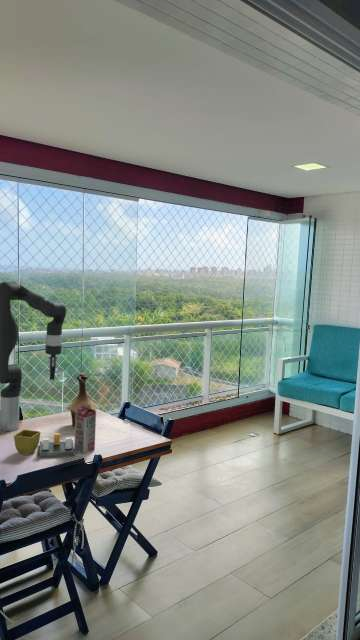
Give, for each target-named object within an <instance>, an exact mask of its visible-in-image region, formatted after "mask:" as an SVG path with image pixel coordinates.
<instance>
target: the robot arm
mask: <svg viewBox="0 0 360 640" xmlns="http://www.w3.org/2000/svg"><path fill="white" fill-rule="evenodd" d="M11 301H22V302H25V303H26V304H27V305H28V306H29V307H30V308H32V309H34V310H36V311H39V312H40V313H42V314H43V315H44V316H45V317H48V318H52V320H51V321H49V322H48V323H47V324H46V335H45V348H44V351H45V352H44V353H45V354H46V355H50V356H48V367H49V380H51V381H53V380H55V377H56V374H55V373H56V368H57V365H58V364H57V363H58V355H61V354H62V348H63V326H64V322H65V318H66V315H67V306H66V304H65V303H64V302H61V301H50V299H49V298H47V297H46V296H42V295H41V294H37V293H35V292H33V291H31V290H30V289H28V288H27V287H24V286H23V285H22V284H20V283H19V282H16V281H15V282H14V281H2V282H0V384H1V385H2V384H3V385H4V384H5V385H6V384H8V385H7V386H6V387H4V388H2V389H1V390H0V431H3V432H4V431H6V432H10V431H16V430H18V429H19V428H20V396H21V395H20V393H21V389H22V380H23V379H22V378H23V377H22V376H23V375H22V374H23V373H22V372H23V371H22V367H21V366H20V365H19V364H17V363H12V364H9V362H10V357H11V354H12V352H13V351H14V349H15V347H16V345H17V343H18V341H19V325H18V322H17V320H16V318H15V316H14V315H13V313H12V308H11Z"/></svg>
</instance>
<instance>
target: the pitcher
mask: <svg viewBox="0 0 360 640" xmlns="http://www.w3.org/2000/svg"><path fill="white" fill-rule="evenodd" d="M76 379H77V381H78V386H79V387H78V389H79V392H78V394H77V397H76V398H75V399H74V400H73V401H72V402H71V403H69V404H67V405H66V409H67V410H69V411H70V416H71V423H72V424H71V425H72V428H75V411H76V410H77V409H78V408H79V407H80V406H81V402H82V403H85V404H89V405H91V409H93V410H95V411H96V410H98V409H99V408H100V406H99V405H98V404H97V403H96V402H94V401H93V400H92V399H91V398H89V396H88V393H87V389H86V388H87V387H86V383H87V381H89V380H90V377H89V376H87V375H85V374H84V373H82V372H80V373H79V376H76Z"/></svg>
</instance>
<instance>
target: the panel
mask: <svg viewBox="0 0 360 640" xmlns="http://www.w3.org/2000/svg"><path fill="white" fill-rule="evenodd" d="M65 442H66V439H60V444H55V445H54V439H53V440H49V449H48V450H43V440H39V459H40V458H41V459H42V458H43V459H44V458H45V459H47V458H60V457H61V458H62V457H63V458H64V457H75V450H74V440H73V439H72V445H71V448H70V449H66V448H65Z"/></svg>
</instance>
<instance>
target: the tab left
mask: <svg viewBox="0 0 360 640" xmlns="http://www.w3.org/2000/svg"><path fill="white" fill-rule="evenodd" d="M42 441H43V450H48V449H49V441H50V438H49V437H48V438H47V437H45V438H42Z"/></svg>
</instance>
